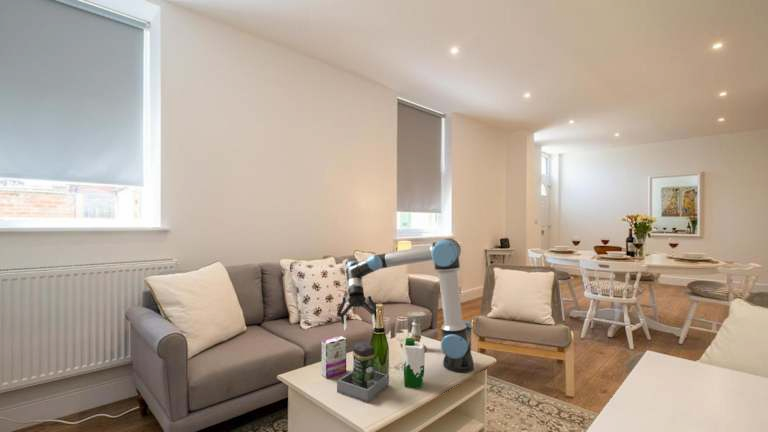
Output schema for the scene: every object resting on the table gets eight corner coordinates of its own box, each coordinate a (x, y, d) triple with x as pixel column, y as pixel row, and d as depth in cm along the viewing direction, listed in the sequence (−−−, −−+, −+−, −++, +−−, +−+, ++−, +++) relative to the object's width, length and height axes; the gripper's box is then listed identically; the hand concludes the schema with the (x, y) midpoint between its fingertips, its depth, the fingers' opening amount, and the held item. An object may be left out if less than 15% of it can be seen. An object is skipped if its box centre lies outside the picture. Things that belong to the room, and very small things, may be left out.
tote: (388, 386, 163) (388, 375, 163) (367, 402, 148) (367, 390, 148) (359, 377, 171) (359, 366, 171) (336, 392, 157) (337, 380, 156)
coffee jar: (349, 385, 161) (350, 342, 161) (364, 380, 166) (365, 339, 166) (361, 394, 153) (362, 349, 153) (377, 388, 158) (378, 345, 158)
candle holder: (431, 351, 205) (432, 314, 205) (413, 355, 199) (414, 317, 198) (417, 343, 216) (418, 309, 215) (400, 347, 209) (401, 312, 209)
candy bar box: (340, 368, 179) (341, 335, 179) (346, 372, 175) (347, 338, 175) (320, 375, 172) (321, 340, 172) (326, 379, 168) (326, 343, 168)
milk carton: (405, 378, 171) (406, 335, 170) (424, 381, 169) (425, 337, 168) (402, 387, 162) (403, 342, 162) (422, 390, 160) (424, 344, 160)
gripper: (378, 292, 189) (385, 331, 174) (329, 294, 183) (332, 334, 168) (381, 284, 183) (388, 323, 169) (330, 285, 177) (333, 326, 163)
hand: (360, 329), depth 169 cm, fingers open, 13 cm apart
